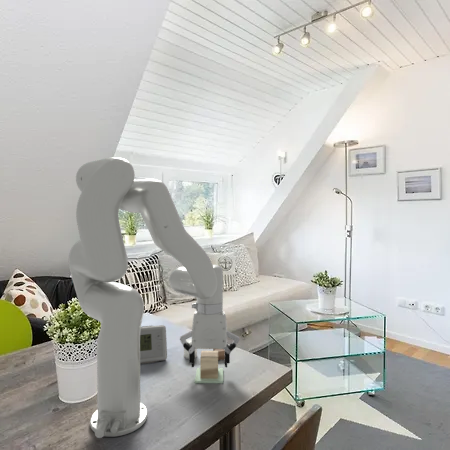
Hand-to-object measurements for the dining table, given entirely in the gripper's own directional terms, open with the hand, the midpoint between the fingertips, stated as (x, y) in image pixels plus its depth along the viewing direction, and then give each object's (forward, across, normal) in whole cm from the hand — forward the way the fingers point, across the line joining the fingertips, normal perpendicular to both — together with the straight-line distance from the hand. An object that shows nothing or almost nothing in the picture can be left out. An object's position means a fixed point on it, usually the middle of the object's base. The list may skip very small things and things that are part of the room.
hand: (209, 365), depth 101 cm
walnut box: (+3, +2, +13) cm, 14 cm away
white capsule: (+3, -7, +14) cm, 16 cm away
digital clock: (+4, -22, +10) cm, 25 cm away
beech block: (+3, 0, 0) cm, 3 cm away
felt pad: (+3, 0, 0) cm, 3 cm away
